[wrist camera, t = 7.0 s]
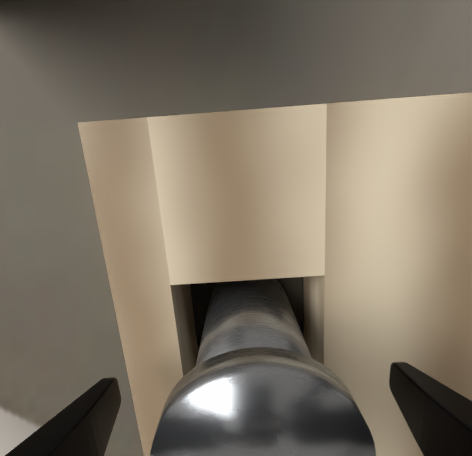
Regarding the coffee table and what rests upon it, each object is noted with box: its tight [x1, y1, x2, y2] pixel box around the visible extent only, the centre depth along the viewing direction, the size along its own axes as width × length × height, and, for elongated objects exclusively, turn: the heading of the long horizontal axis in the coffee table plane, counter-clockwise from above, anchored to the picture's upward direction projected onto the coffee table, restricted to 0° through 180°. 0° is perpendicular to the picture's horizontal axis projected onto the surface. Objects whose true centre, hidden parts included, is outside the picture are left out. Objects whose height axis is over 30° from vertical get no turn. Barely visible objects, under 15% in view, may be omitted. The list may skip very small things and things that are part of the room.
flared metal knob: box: [150, 279, 376, 456], centre depth 9 cm, size 5×5×7 cm
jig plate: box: [78, 93, 472, 456], centre depth 11 cm, size 19×15×3 cm
